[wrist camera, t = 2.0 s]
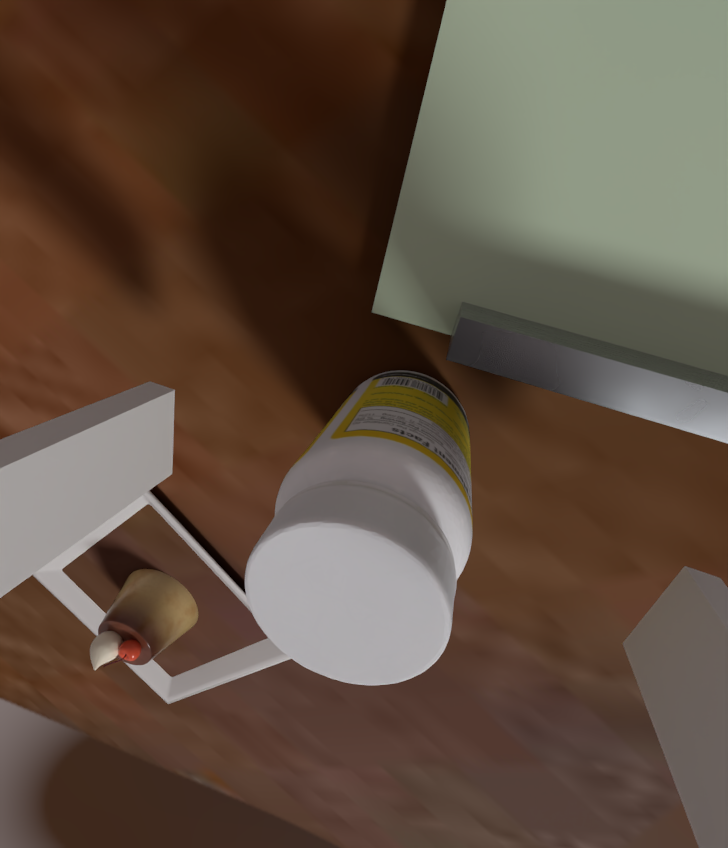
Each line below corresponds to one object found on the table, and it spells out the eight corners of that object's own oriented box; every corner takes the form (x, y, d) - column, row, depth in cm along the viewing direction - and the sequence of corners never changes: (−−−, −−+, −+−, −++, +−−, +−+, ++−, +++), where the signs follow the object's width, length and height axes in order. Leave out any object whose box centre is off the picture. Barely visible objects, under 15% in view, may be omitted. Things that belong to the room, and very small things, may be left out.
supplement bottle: (379, 500, 16) (304, 713, 9) (319, 402, 15) (174, 548, 8) (493, 458, 14) (519, 682, 7) (433, 343, 13) (389, 460, 6)
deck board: (379, 307, 13) (371, 312, 12) (525, -284, 8) (534, -366, 7) (834, 438, 12) (870, 457, 11) (1378, -193, 7) (1558, -281, 5)
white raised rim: (309, 636, 21) (269, 732, 17) (179, 687, 26) (123, 771, 22) (152, 465, 19) (62, 526, 15) (43, 555, 24) (-49, 621, 20)
